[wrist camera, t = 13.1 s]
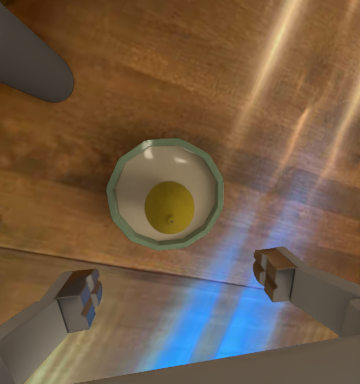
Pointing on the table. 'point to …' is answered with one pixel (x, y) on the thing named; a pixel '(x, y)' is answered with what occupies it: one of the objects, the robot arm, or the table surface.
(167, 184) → the lemon
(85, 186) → the table surface
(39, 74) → the bottle
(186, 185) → the bowl
